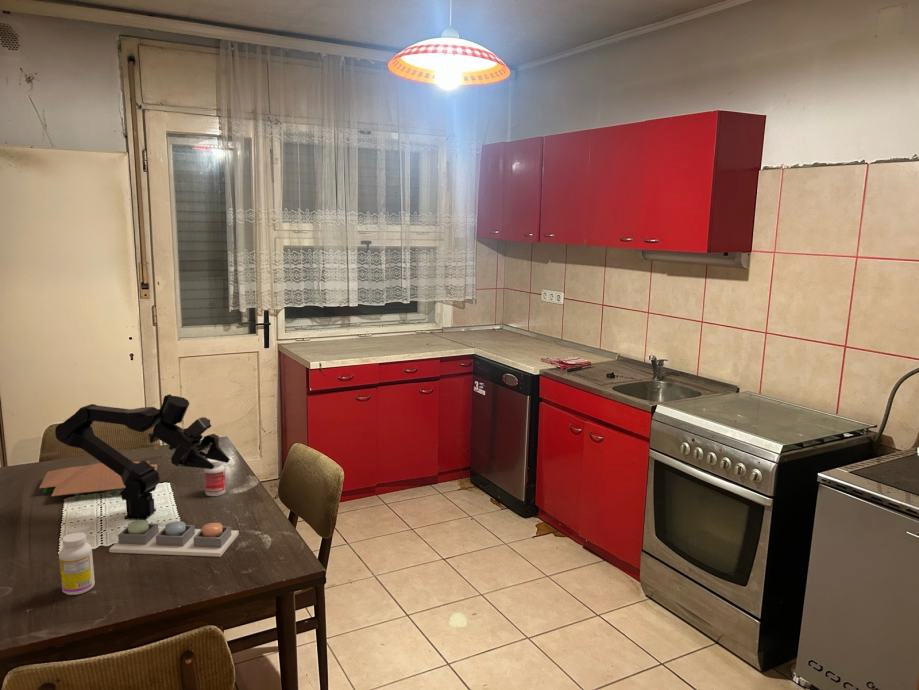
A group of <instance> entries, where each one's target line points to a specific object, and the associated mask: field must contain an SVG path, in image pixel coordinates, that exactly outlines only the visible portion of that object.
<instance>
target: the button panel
mask: <svg viewBox="0 0 919 690" xmlns="http://www.w3.org/2000/svg"><path fill="white" fill-rule="evenodd" d="M185 526H186V532H185V533H184V534H183V535H182V536H171V535H165V527H159V523H149V530H148V531H147V532H146V533H145V534H128V526H126V527H125V528H124V529H123V530H122V531H121V532H120V533H118V534H117V539H118V541H117V542H115V543H114V544H113V545H112V546H111V547H109V548H108V550H109V553H118V554H141V555H165V556H166V555H168V556H170V555H171V556H193V557H213V558H214V557H216V558H218V557H219V558H220V557H222V555H223V554H224V553H225V552H226V550H227V549H228V548H229V547H230V546H231V544H232V543H233V542H234V541H235V540H236V538H237V537H238V536H239V534H240V533H239V532H240V531H239V530H233V529H232V527H231V526H230V525H229V526H224V525H222V528H223V533H222V535H221V536H220V537H203V532H202V528H196V525H194V524H185Z"/></svg>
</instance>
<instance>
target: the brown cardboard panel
mask: <svg viewBox="0 0 919 690" xmlns="http://www.w3.org/2000/svg"><path fill="white" fill-rule="evenodd" d="M145 461H146V462H147V463H148V464H149V465H151V466H153V467H155V470H156V471H157V470H158V464H155V463H154V464H153V463H152V464H150V461H149V460H148V461H147V460H145ZM133 462H134V463H139V462H140V461H133ZM157 472H158V471H157ZM125 487H126V486H125V485H124V484H123V481H122V478H121V476H120V475H118V474H117V473H115V472H114V471H113V470H111V469H110V468H108V467H107V466H106V465H104V464H103V463H101V462H100V463H99V462H98V463H94V464H89V465H79V466H71V467H65V468H58V469H55V470H49V471H47V473H46V474H45V476H44V478H43V480H42V481H41V484H40V485H39V489H42V493H43V496H44V495H45V493H47V491H49V492H51V491H52V493H51V494H50V495H51V496H50V497H58V496H66V495H67V496H68V495H74V496H75V501H76V502H77V499H78V498H79V496H80V494H86V493H95V492H104V491H110V492H105V495H107V494H108V495H109V494H111V497H112V496H113V497H114V494H117V493H118V491H119V489H121V491H122V490H123V489H124V488H125ZM50 488H51V490H50ZM53 488H54V489H53ZM48 489H49V490H48ZM116 490H118V491H116ZM121 491H120V492H121ZM92 496H93V495H92V494H87V497H84V499H85V500H86V498H88V500H89V498H90V499H91V500H92ZM97 496H101V493H99V494H98V493H97ZM80 498H81V500H82V501H83V495H81V496H80ZM80 498H79V499H78V500H80ZM93 498H94V499H95V497H93ZM81 500H80V501H81Z"/></svg>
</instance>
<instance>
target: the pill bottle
mask: <svg viewBox="0 0 919 690" xmlns="http://www.w3.org/2000/svg"><path fill="white" fill-rule="evenodd" d="M206 459H207V460H208V461H210V462H211V463H212V464H213V465H214V468H213V469H205V468H203V469H204V470H203V474H204V475H203V476H204V492H205V495H206V496H208V497H218V496H222V495H224V494H225V493H226V491H227V488H226V487H227V484H226V483H227V482H226V467H225V465H224V464H223V462H221V461H217V460H212V459H208V458H206Z"/></svg>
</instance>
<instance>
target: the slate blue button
mask: <svg viewBox="0 0 919 690" xmlns="http://www.w3.org/2000/svg"><path fill="white" fill-rule="evenodd" d="M185 525H186V523H185V522H184V521H180V520H177V521H172V522H168V523H167V524H165V525H164V528H165V535H171V536H182V535H183V534H184V533H185V532H186V526H185Z"/></svg>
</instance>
